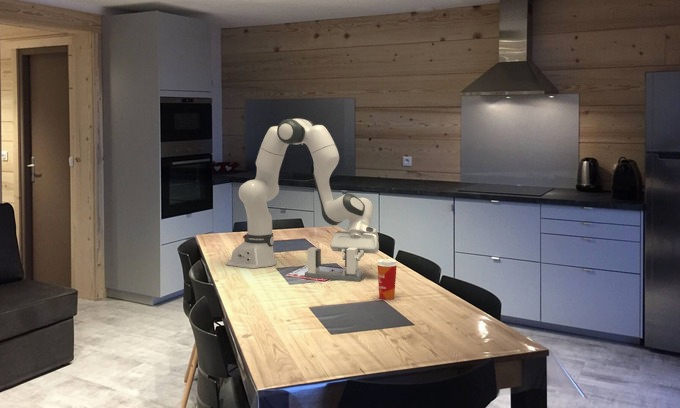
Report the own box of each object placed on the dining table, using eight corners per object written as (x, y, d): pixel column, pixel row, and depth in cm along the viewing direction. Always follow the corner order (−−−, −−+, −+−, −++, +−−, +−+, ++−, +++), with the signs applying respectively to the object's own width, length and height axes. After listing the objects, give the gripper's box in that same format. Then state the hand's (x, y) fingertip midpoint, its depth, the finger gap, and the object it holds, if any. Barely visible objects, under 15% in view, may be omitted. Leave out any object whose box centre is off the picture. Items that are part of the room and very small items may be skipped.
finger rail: (304, 277, 280) (304, 249, 278) (308, 274, 284) (308, 246, 283) (360, 281, 273) (360, 252, 271) (363, 278, 277) (363, 250, 276)
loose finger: (344, 273, 274) (344, 249, 273) (348, 270, 279) (348, 247, 278) (354, 274, 273) (354, 249, 272) (358, 271, 278) (358, 247, 276)
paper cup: (375, 295, 252) (375, 258, 250) (395, 294, 253) (395, 258, 251) (377, 300, 244) (378, 263, 242) (398, 300, 245) (399, 262, 243)
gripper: (332, 226, 283) (325, 253, 275) (379, 229, 277) (373, 257, 269) (335, 235, 288) (328, 262, 280) (382, 238, 282) (376, 265, 274)
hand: (351, 259), depth 275 cm, fingers closed on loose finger, 4 cm apart
